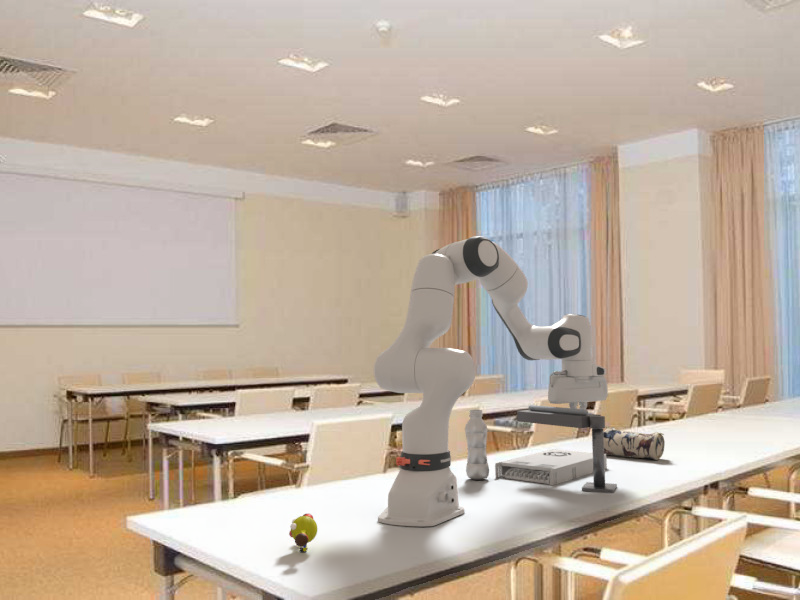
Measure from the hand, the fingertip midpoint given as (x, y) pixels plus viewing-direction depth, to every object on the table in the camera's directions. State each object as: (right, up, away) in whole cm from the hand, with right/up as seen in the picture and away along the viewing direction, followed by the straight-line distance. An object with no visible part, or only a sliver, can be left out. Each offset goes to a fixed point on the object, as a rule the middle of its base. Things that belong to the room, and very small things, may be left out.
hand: (578, 417), depth 216 cm
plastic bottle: (-29, -18, 0) cm, 34 cm away
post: (+2, -17, -16) cm, 23 cm away
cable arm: (-6, -1, -6) cm, 8 cm away
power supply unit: (-6, -19, +8) cm, 21 cm away
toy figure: (-71, -16, -69) cm, 100 cm away
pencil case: (+26, -19, +33) cm, 46 cm away
